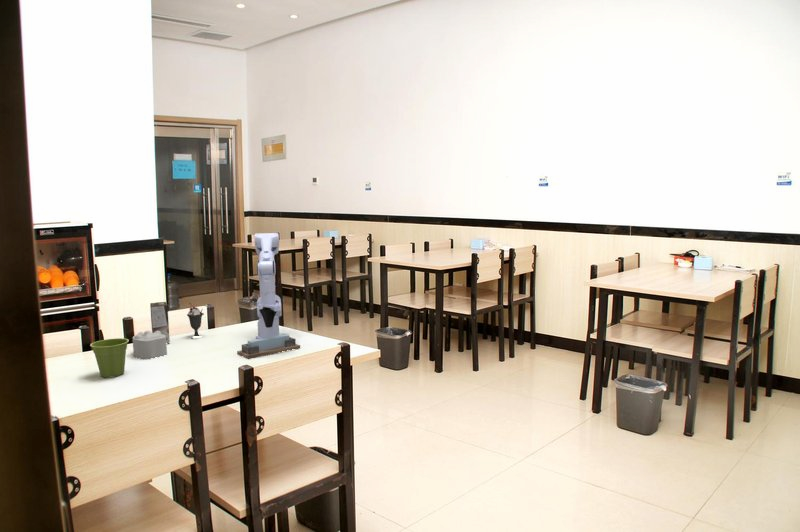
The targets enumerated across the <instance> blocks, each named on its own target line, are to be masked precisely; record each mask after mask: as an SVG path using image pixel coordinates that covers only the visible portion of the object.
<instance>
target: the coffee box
mask: <svg viewBox="0 0 800 532" xmlns="http://www.w3.org/2000/svg"><path fill="white" fill-rule="evenodd" d="M149 308H150V309H149V310H150V322H151V323H150V324H151V333H154V332H155V331H160V332H161V334H163V335H165V336H166V343H169V342H170V341H171V340H170V327H169V326H170V322H169V307H168V303H167V301H160V302H151V303H150V307H149ZM170 343H171V342H170Z"/></svg>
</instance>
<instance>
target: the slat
mask: <svg viewBox="0 0 800 532" xmlns="http://www.w3.org/2000/svg"><path fill="white" fill-rule="evenodd" d="M289 337H290V335H289V334H286V333H284V334H279V335H277V336H272V337H266V338H261V339H258V338H256V339H252V340H251V339H250V340H247V344H248V346H249V347H253V346H259V351H263V350H268V349H273V348H279V347H284V346H285V340H289Z"/></svg>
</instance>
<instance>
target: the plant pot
mask: <svg viewBox="0 0 800 532" xmlns="http://www.w3.org/2000/svg"><path fill="white" fill-rule="evenodd" d="M129 340H130V339H128V338H122V337H120V338H119V337H118V338H117V337H116V338H108V339H102V340H97V341H95V342H92V343H90V345H89V346H90V347H91V348H92V352H93V354H94V356H95V360H96V364H97V366H98V370H99V374H100V377H102V378H104V377H105V378H115V377H119V376H120V375H123V374H124V373H125V369H126V368H125V367H126V366H125V365H126V356H127V355H126V354H127V348H128V343H129Z"/></svg>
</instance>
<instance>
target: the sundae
mask: <svg viewBox="0 0 800 532" xmlns="http://www.w3.org/2000/svg"><path fill="white" fill-rule="evenodd" d="M188 304H189V305H190V306H191V307H189V310H188V312H187V314H186V316H187V317H188V319H189V324H190V328H192V329H193V330H194V334H193V336H200V334H199V331H198V330H199V329H200V328H201V327H202V326H201V325H202V317H203V316H204V315H205V314H204V312H203V310H204V309H203V308H202V309H201V310H200V309H199V308H198V307H196V306H194V305H193V304H192V303H191V302H190V303H189V302H188Z"/></svg>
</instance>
